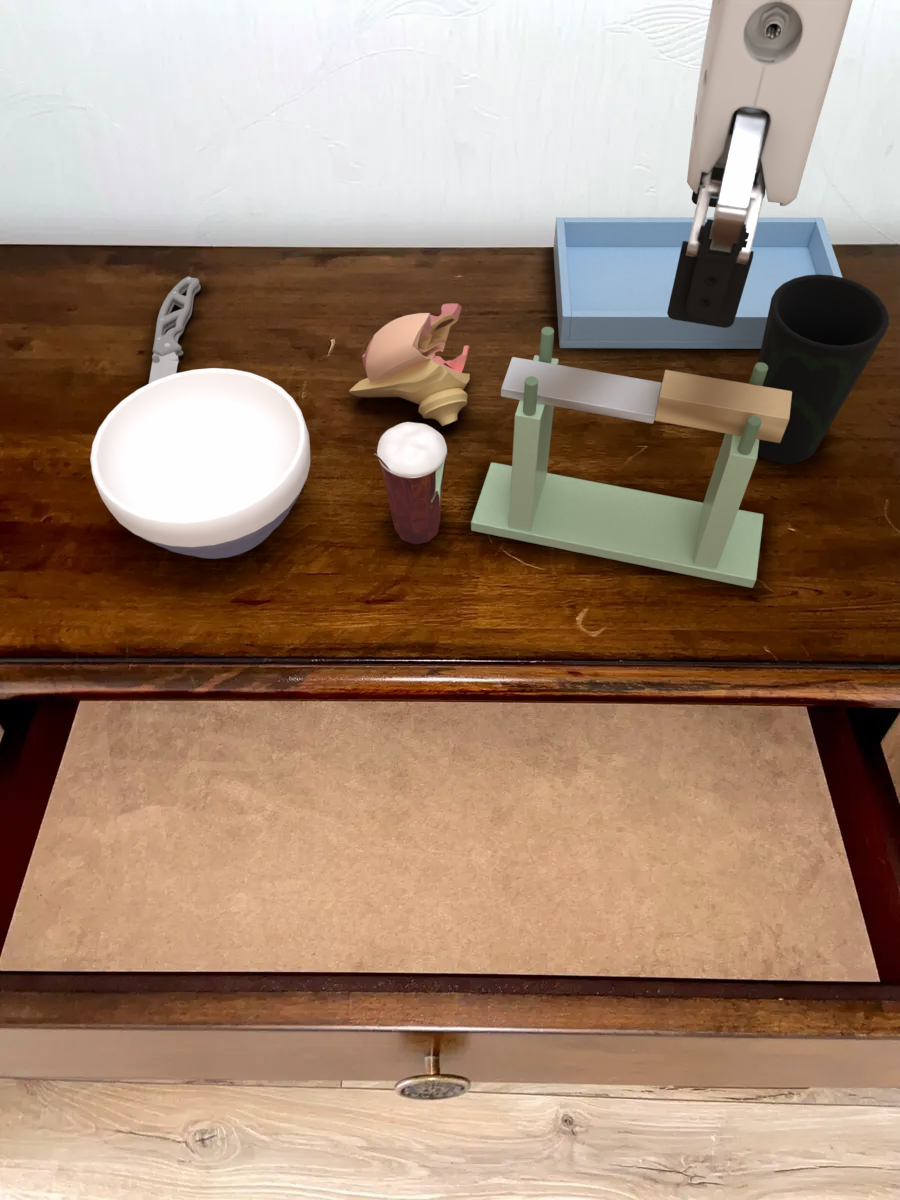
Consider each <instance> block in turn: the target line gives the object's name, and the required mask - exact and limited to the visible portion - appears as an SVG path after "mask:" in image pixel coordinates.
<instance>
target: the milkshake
mask: <svg viewBox="0 0 900 1200" xmlns="http://www.w3.org/2000/svg"><path fill="white" fill-rule="evenodd" d="M376 449H377V450H376V453H375V452H374V453H373V454H374V456H375V457H376V458H377V460H378V462H379V463H378V464H379V466H380V469H381V474H382V478H383V482H384V486H385V491H386V496H387V500H388V505H389V510H390V514H391V519H392V523H393V529H394V531H395V532H396V534H397V535H398V537H399V538H400V540H401V541H403V542H406V543H409V544H412V545H419V544H425V543H429V542H430V541H431V540H432V539H434V538H435V537H436V536H437V535H439V530H440V525H441V524H440V523H441V513H442V511H441V510H442V500H443V499H442V498H443V486H444V485H443V484H444V479H445V471H446V463H447V455H448V447H447V443H446V440H445V437H444V435H442V434H441V432H439V431H438V430H436V429H435V428H433V427H432V426H430V425H429V424H426V423H421V422H412V421H406V422H402V423H399V424H396V425H394V426H393V427H390V428H388V429H387V430H386V431H384V432H383V434H382V435H381V436H380V439H379V441H378V444H377V448H376Z"/></svg>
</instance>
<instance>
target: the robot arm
mask: <svg viewBox="0 0 900 1200" xmlns="http://www.w3.org/2000/svg"><path fill="white" fill-rule="evenodd" d="M853 1H854V0H712V1H711V7H710V12H709V17H708V24H707V29H706V34H705V41H704V46H703V53H702V59H701V64H700V70H699V77H698V83H697V84H698V85H697V90H696V91H697V92H696V97H695V98H696V99H695V106H694V113H693V121H692V123H693V124H692V131H691V140H690V149H689V158H688V167H687V168H688V169H687V176H686V183H687V185H688V186H689V188H690V189H691V190H692V193H691V201H692V203H693V204H694V205H696V206H695V210H694V215H693V218H694V219H693V224H692V228H691V233H690V237H689V242H687V241H683V243H682V247H681V252H680V257H679V261H678V266H677V270H676V275H675V279H674V284H673V288H672V293H671V297H670V302H669V307H668V311H667V314H668V316H669V317H670V318H671V319H674V320H679V321H686V322H692V323H698V324H704V325H710V326H716V327H722V328H728V327H730V326H732V325H733V323H734V320H735V317H736V313H737V310H738V307H739V303H740V300H741V296H742V293H743V290H744V286H745V283H746V280H747V276H748V273H749V269H750V266H751V263H752V259H753V253H754V251H751V248H752V244H753V239H754V235H755V231H756V227H757V223H758V218H760V213H761V209H762V205H763V201H764V198H765V196H766V199H767V202H768V203H777V204H779V206H780V207H786V206H788V205H789V204H791V203H792V202H794V201H795V200H796V199H797V197H798V195H799V190H800V188H801V184H802V183H801V182H802V180H803V176H804V172H805V170H806V169H805V168H806V165H807V161H808V157H809V154H810V151H811V147H812V145H813V141H814V137H815V133H816V130H817V126H818V124H819V119H820V116H821V113H822V109H823V106H824V103H825V99H826V96H827V94H828V90H829V85H830V82H831V79H832V75H833V72H834V69H835V65H836V62H837V58H838V55H839V51H840V49H841V44H842V41H843V37H844V34H845V30H846V28H847V27H846V26H847V23H848V20H849V16H850V12H851V8H852V4H853ZM709 207H710V208H715V210H714V213H713V216H712V218H713V220H711V219H707V222H705V219H706V218H707V214H708V210H709ZM704 224H705V226H704Z"/></svg>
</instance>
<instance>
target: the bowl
mask: <svg viewBox="0 0 900 1200" xmlns="http://www.w3.org/2000/svg"><path fill="white" fill-rule="evenodd" d="M310 441H311V440H310V433H309V430H308V427H307V423H306V421H305V418H304V416H303V412H302V410H301V408H300V407H299V405H298V404H297V402H296V401H295V399H294V398H293V397H292V395H290V394H289V392H287V391H286V390H285V389H284V388H283V387H282V386H280V385H278V384H276V383H275V382H273V381H272V380H270V379H269V378H266V377H263V376H260V375H259V374H255V373H252V372H250V371H244V370H239V369H233V368H219V367H210V368H209V367H208V368H199V369H198V368H197V369H190V370H186V371H185V370H184V371H180V372H176V374H172V375H169V376H167V377H164V378H161V379H158V380H156V381H153V382H151V383H150V384H149V383H148V384H146V385H144V386H142V387H140V388H138V389H136V390H135V391H133V392H132V393H131V394H129V395H128V396H127V397H125V398H124V399H122V400H121V401H120V402H119V403H118V404H117V405H116V406H115V407H114V408H113V409H112V410H111V411H110V412H109V413H108V414H107V416H106V417H105V419H104V420H103V421H102V423H101V424H100V426H99V427H98V429H97V432H96V434H95V436H94V439H93V441H92V445H91V451H90V458H89V460H90V461H89V462H90V467H91V468H90V469H91V475H92V477H93V481H94V484H95V487H96V489H97V492H98V494H99V496H100V498H101V501H102V502H103V503H104V505H105V506H106V508H107V510H108V511H109V513H110V514H111V515H112V516H113V517H114V518H115V519H116V520H117V522H118V523H119V524H120V525H122V526H123V527H124V528H126V529H127V530H128V531H129V532H130V533H132V534H134V535H135V536H138V537H140V538H141V539H143V540H144V541H147V542H149V543H152V544H154V545H156V546H158V547H160V548H163V549H165V550H168V551H170V552H173V553H176V554H181V555H184V556H185V555H186V556H191V557H196V558H201V559H211V560H212V559H213V560H216V559H227V558H231V557H235V556H239V555H241V554H244V553H246V552H248V551H251V550H252V549H254V548H255V547H257V546H259V545H260V544H262V543H263V542H264V541H265V540H266V539H267V538H269V537H270V535H271V534H272V533H273V532H274V531H275V530H276V529H277V528H278V527H279V526H280V525H281V524H282V523H283V522H284V520H285V519H286V517H287V516H288V515H289V513H290V511H291V509H292V508H293V507H294V505H295V504H296V502H297V500H298V498H299V496H300V494H301V492H302V490H303V488H304V485H305V483H306V481H307V479H308V476H309V472H310V467H311V464H312V463H311V443H310Z"/></svg>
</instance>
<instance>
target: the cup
mask: <svg viewBox="0 0 900 1200" xmlns="http://www.w3.org/2000/svg"><path fill="white" fill-rule="evenodd" d="M842 277H843V276H842ZM842 277H837V276H833V275H821V274H817V275H805V276H802V277H798V278H794V279H792V280H790V281H788V282H786V283H784V284H782V285H781V286H780V287H779V288H778V289H777V290H776V291H775V293H774V294H773V296H772V298H771V303H770V308H769V313H768V317H767V322H766V327H765V332H764V337H763V342H762V346H761V349H760V352H759V357H758V361H757V363H759V362H762V363H765V364H766V365H767V366H768V371H767V374H766V377H765V380H764V382H763V385H762V386H764V387H770V388H775V389H781V390H787V391H792V398H791V408H790V418H789V421H788V424H787V427H786V429H785V432H784V434H783V437H782V439H781V442H780V443H777V442H771V441H766V440H760V439H759V447H758V455H757V456H759V457H760V458H762V459H764V460H766V461H769V462H772V463H775V464H782V465H783V464H784V465H791V464H793V465H794V464H798V463H801V462H804V461H806V460H808V459H809V458H811V457H812V456H813V455H814V454H815V452H817V449H818V448H819V446H820V444H821V442H822V441H823V439H824V437H825V436H826V434H827V432H828V430H829V429H830V427H831V425H832V424H833V422H834V420H835V419H836V417H837V415H838V414H839V412H840V410H841V408H842V407H843V405H844V404H845V402H846V400H847V398H848V397H849V395H850V394H851V392H852V390H853V388H854V387H855V385H856V383H857V381H858V380H859V378H860V376H861V375H862V373H863V371H864V370H865V368H866V366H867V365H868V363H869V361H870V360H871V358H872V356H873V354H874V353H875V351H876V349H878V346H879V345H880V343H881V341H882V340H883V337H884V336H885V334H886V332H887V330H888V328H889V325H890V315H889V313H888V309H887V307H886V305H885V304H884V302H883V301H882V300H881V299H880V297H879V296H878V295H877V294H876V293H874V292H873V291H872V290H870V289H869V288H868V287H866V286H864V285H863V284H861V283H859V282H856V281H854V280H852V279H848V278H846V277H843V278H842Z"/></svg>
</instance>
